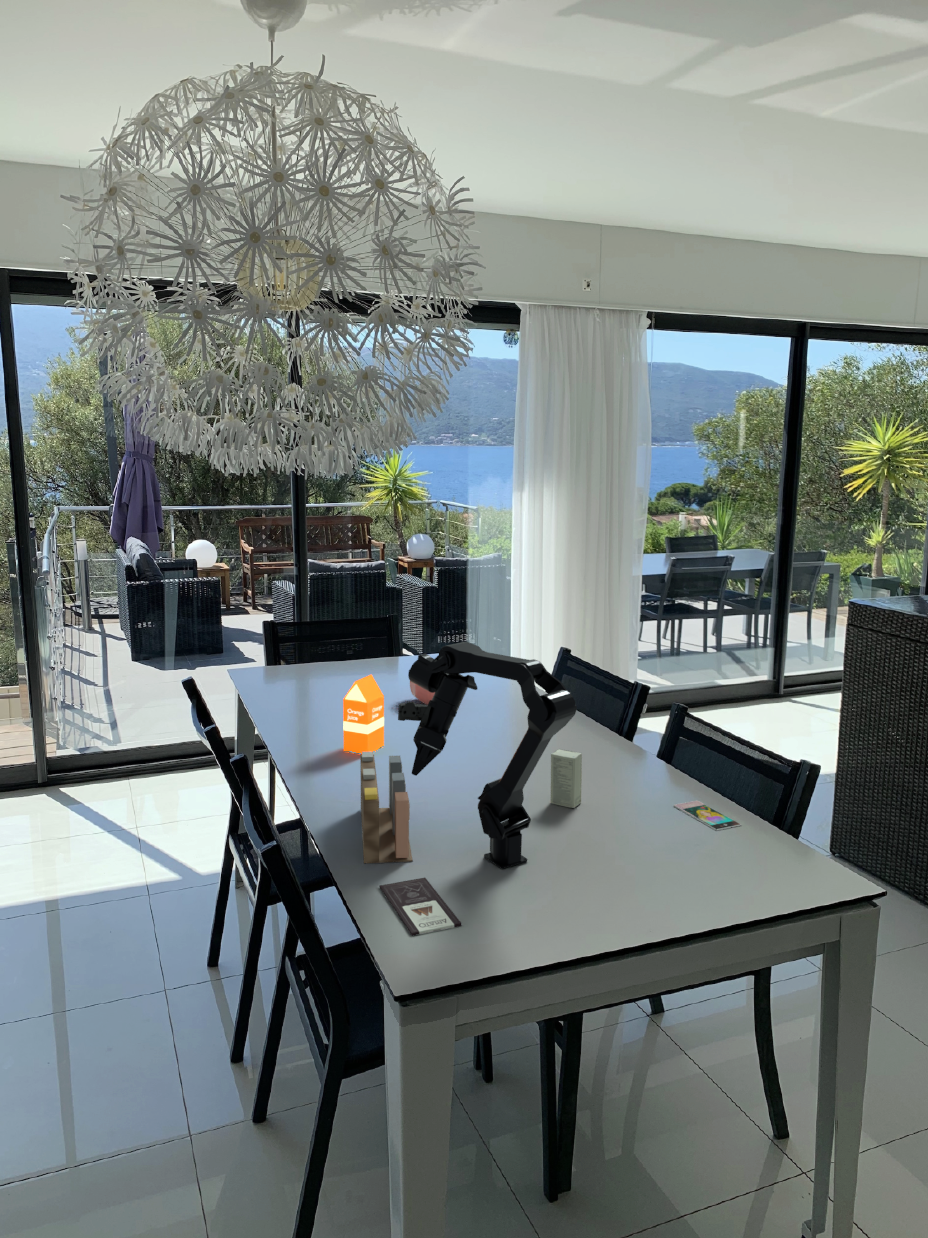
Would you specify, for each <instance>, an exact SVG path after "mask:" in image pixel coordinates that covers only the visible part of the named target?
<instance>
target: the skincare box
mask: <svg viewBox="0 0 928 1238" xmlns="http://www.w3.org/2000/svg"><path fill="white" fill-rule="evenodd" d="M582 756H583V754H582V752H577V751H572V750H565V749H561V748H559V749H557V750H555V751H553V752H552V753H550V804H552V805H557V806H560V807H561V806H562V807H564V808H565V807H566V808H573V809H575V808H576V807H577V806H579V805H580V804H581V803H582V775H583V771H582V768H583V767H582V766H583V757H582Z"/></svg>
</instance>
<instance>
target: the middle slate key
mask: <svg viewBox="0 0 928 1238" xmlns="http://www.w3.org/2000/svg"><path fill="white" fill-rule="evenodd" d="M406 785H407V783H406V777H405V773H404V772H402V773H392V832H393V835H395V792H407V789H406V787H407V786H406Z"/></svg>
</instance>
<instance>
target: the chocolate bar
mask: <svg viewBox="0 0 928 1238" xmlns="http://www.w3.org/2000/svg"><path fill="white" fill-rule="evenodd" d="M379 889H380V890H381V892H382V894H383V896H384V897H385V896H386V897H385V898H386V900H387V901H388V903H389V904H390V905H391V908H393V909H392V910H394V912H395V911H396V912H395V913H396V914H397V916H398V917H400V918H399V919H400V920H401V922H402V923H403V925H404V926H405V928H406V929H407V931H408V932H409V934H410V936H412V937H413V935H414V936H417V935H416V934H419V935H422V934H429V933H432V932H438V931H442V930H448V929H455V928H457V927H462V922H461V921H460V920H459V918H458V917H457V916H456V914H455V913H454V912H453V911H452V909H451V908H450V907H449V906H448V904H447V902H445V901H444V899H443V898H442V897H441V895H440V894H439V893H438V891H436V889H435V887H434V886H433V885H432V884H431V883H430V881H429V880H428V878H426V877H420V878H415V879H409V880H403V881H398V882H392V883H387V884H381V885H379Z"/></svg>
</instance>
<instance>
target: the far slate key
mask: <svg viewBox="0 0 928 1238" xmlns="http://www.w3.org/2000/svg"><path fill="white" fill-rule="evenodd" d="M402 763H403V762H402V757H401V755H389V756H388V808H389V810H390V814H392V773H403V764H402Z"/></svg>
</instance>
